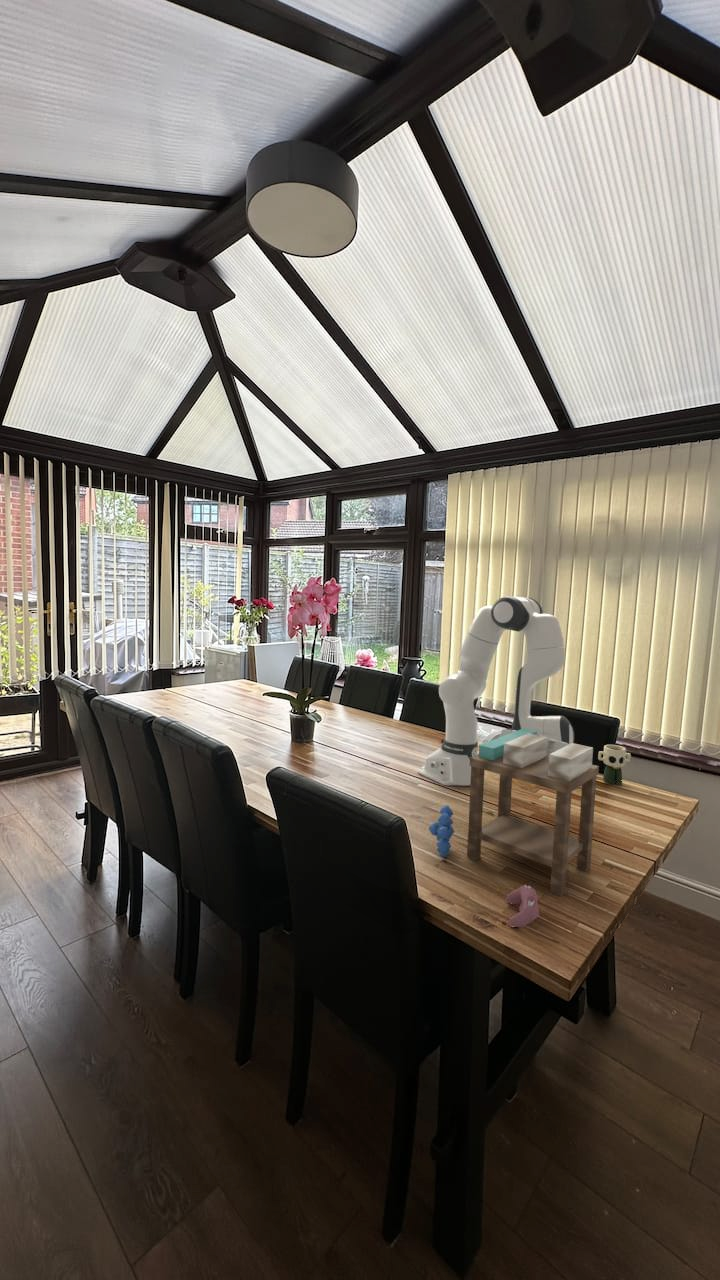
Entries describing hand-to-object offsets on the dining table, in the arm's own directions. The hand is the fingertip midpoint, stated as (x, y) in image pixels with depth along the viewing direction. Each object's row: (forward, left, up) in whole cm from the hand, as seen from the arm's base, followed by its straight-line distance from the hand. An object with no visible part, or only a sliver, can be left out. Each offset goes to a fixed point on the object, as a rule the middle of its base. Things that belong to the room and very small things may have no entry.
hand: (524, 735), depth 147 cm
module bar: (0, -9, -2) cm, 9 cm away
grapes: (-9, -26, -28) cm, 39 cm away
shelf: (+10, -14, -28) cm, 33 cm away
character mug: (+5, +61, -28) cm, 67 cm away
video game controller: (+19, -36, -28) cm, 50 cm away
